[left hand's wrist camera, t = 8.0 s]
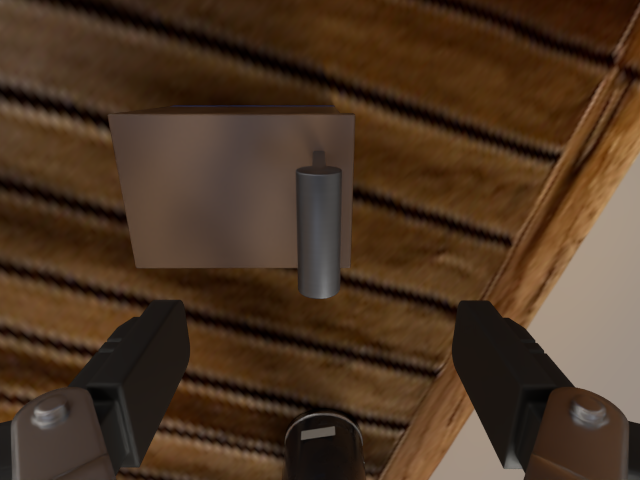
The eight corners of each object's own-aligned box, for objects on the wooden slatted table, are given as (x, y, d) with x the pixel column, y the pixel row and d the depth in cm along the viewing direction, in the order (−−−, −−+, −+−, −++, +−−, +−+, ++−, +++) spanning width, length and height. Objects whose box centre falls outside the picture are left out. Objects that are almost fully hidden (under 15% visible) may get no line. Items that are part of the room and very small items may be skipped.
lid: (354, 112, 24) (371, 126, 16) (349, 262, 28) (362, 334, 20) (114, 113, 24) (11, 125, 16) (141, 262, 28) (68, 334, 20)
